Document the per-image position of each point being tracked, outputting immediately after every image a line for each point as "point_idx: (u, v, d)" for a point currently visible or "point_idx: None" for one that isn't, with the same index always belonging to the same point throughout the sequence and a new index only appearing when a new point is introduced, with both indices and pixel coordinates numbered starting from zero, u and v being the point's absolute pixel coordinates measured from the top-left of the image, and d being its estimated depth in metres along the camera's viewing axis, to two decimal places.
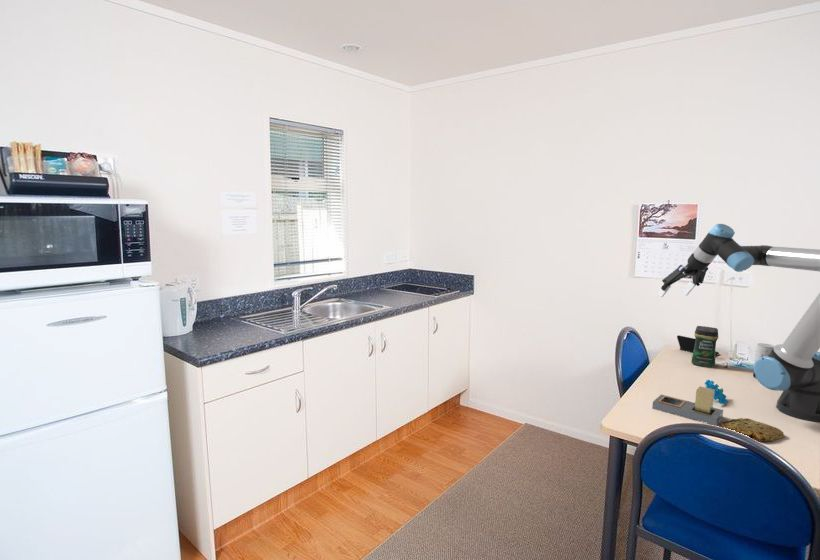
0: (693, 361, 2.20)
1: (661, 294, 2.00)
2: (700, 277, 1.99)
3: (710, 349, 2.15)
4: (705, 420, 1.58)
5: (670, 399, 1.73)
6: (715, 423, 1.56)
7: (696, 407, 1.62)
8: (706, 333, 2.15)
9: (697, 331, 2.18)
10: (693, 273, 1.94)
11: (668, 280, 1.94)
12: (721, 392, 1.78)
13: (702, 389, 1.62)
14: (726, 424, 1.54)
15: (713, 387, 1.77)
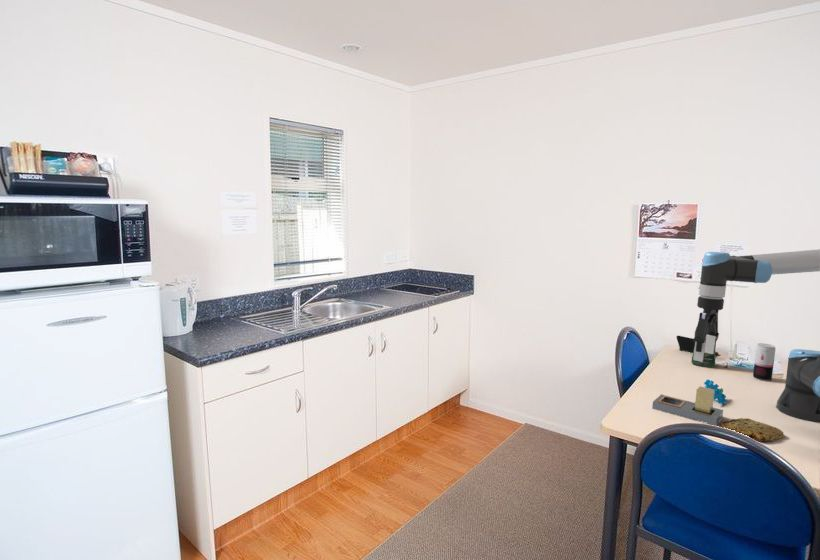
0: (693, 361, 2.20)
1: (700, 358, 1.57)
2: None
3: None
4: (705, 420, 1.58)
5: (670, 399, 1.73)
6: (715, 423, 1.56)
7: (696, 407, 1.62)
8: None
9: None
10: None
11: (701, 335, 1.54)
12: (721, 392, 1.78)
13: (702, 389, 1.62)
14: (726, 424, 1.54)
15: (712, 387, 1.77)
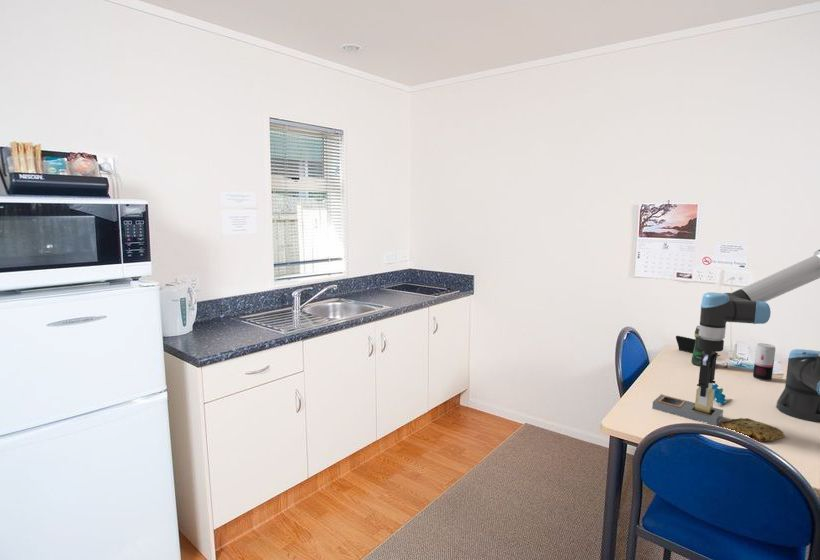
0: (693, 361, 2.20)
1: (704, 403, 1.60)
2: None
3: None
4: (705, 420, 1.58)
5: (670, 399, 1.73)
6: (715, 423, 1.56)
7: (696, 407, 1.62)
8: None
9: (697, 331, 2.18)
10: None
11: (705, 381, 1.57)
12: (720, 392, 1.78)
13: None
14: (726, 424, 1.54)
15: (712, 386, 1.78)
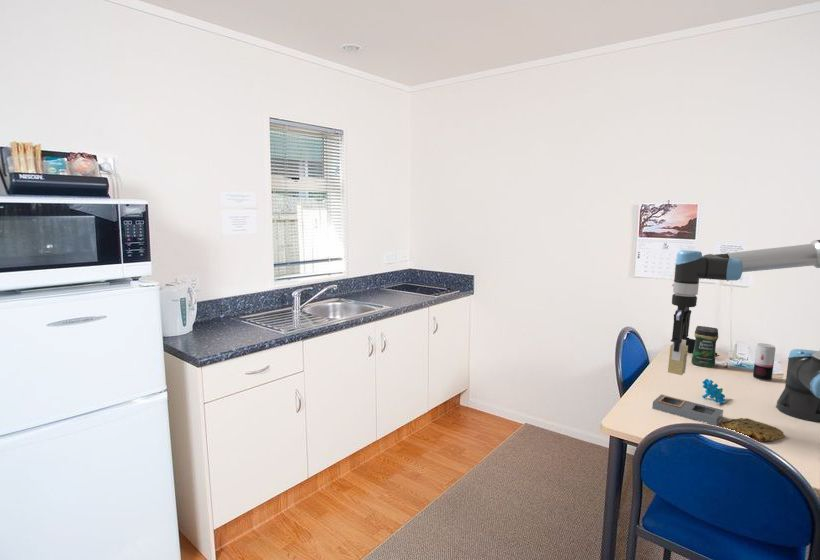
0: (693, 361, 2.20)
1: (678, 358, 1.64)
2: None
3: (710, 349, 2.15)
4: (705, 420, 1.58)
5: (670, 399, 1.73)
6: (715, 423, 1.56)
7: (670, 362, 1.67)
8: (706, 333, 2.15)
9: (697, 331, 2.18)
10: None
11: (678, 336, 1.61)
12: (720, 392, 1.78)
13: None
14: (726, 424, 1.54)
15: (711, 386, 1.78)
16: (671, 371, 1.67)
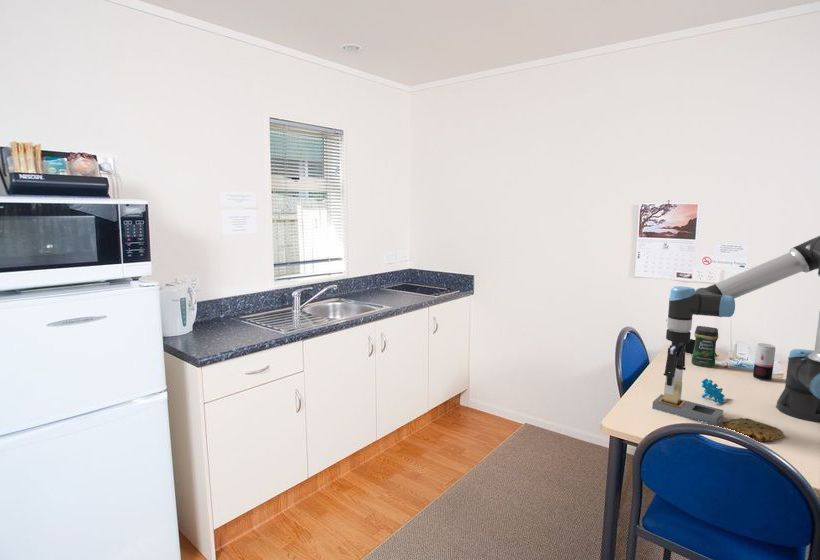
0: (693, 361, 2.20)
1: (671, 392, 1.65)
2: None
3: (710, 349, 2.15)
4: (705, 420, 1.58)
5: None
6: (715, 423, 1.56)
7: (665, 399, 1.69)
8: (706, 333, 2.15)
9: (697, 331, 2.18)
10: None
11: (671, 370, 1.62)
12: (719, 391, 1.78)
13: None
14: (726, 424, 1.54)
15: (710, 386, 1.78)
16: None
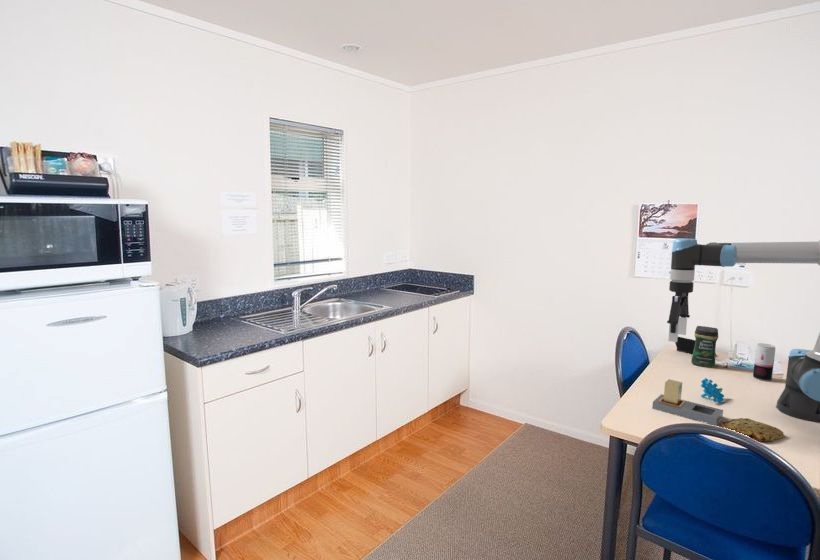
0: (693, 361, 2.20)
1: (674, 339, 1.66)
2: None
3: (710, 349, 2.15)
4: (705, 420, 1.58)
5: None
6: (715, 423, 1.56)
7: (665, 399, 1.69)
8: (706, 333, 2.15)
9: (697, 331, 2.18)
10: None
11: (675, 317, 1.63)
12: (719, 391, 1.79)
13: (670, 382, 1.69)
14: (726, 424, 1.54)
15: (710, 386, 1.79)
16: None
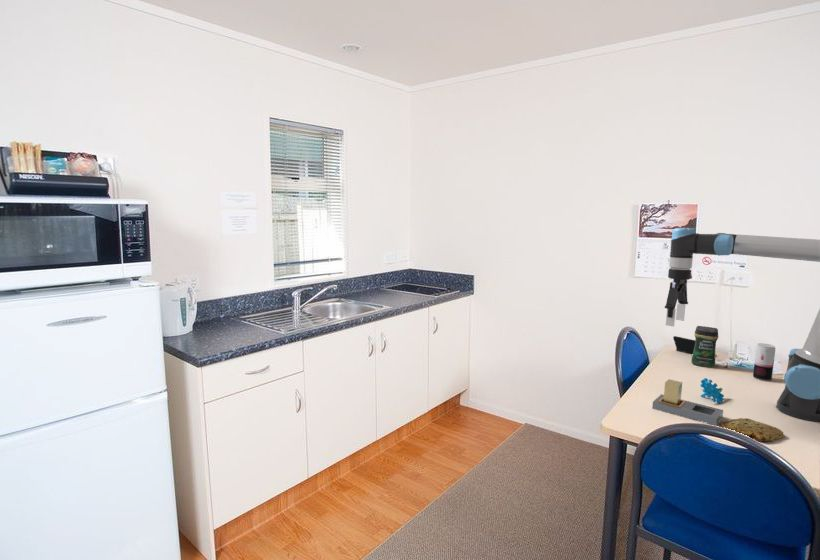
0: (693, 361, 2.20)
1: (671, 323, 1.75)
2: None
3: (710, 349, 2.15)
4: (705, 420, 1.58)
5: None
6: (715, 423, 1.56)
7: (665, 399, 1.69)
8: (706, 333, 2.15)
9: (697, 331, 2.18)
10: (681, 288, 1.78)
11: (672, 302, 1.72)
12: (718, 391, 1.79)
13: (670, 382, 1.69)
14: (726, 424, 1.54)
15: (709, 386, 1.79)
16: None
